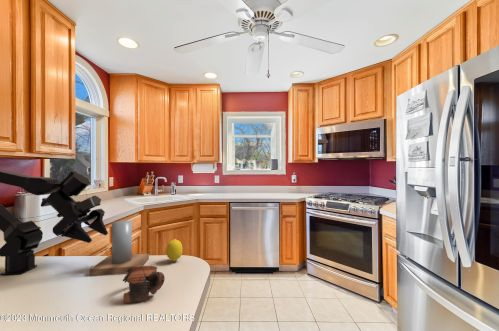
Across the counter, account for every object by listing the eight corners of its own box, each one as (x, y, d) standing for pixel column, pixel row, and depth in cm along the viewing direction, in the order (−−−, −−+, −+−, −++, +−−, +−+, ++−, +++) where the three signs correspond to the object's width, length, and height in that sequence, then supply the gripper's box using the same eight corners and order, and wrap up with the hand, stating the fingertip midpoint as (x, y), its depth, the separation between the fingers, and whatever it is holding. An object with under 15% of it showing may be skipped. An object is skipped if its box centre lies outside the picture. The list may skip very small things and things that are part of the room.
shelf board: (90, 275, 73) (90, 269, 73) (108, 261, 85) (108, 255, 85) (137, 272, 74) (137, 266, 74) (148, 259, 86) (148, 253, 86)
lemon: (177, 264, 80) (177, 241, 80) (163, 263, 81) (163, 240, 82) (185, 259, 86) (185, 237, 86) (171, 258, 87) (171, 236, 87)
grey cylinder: (112, 265, 75) (112, 224, 76) (111, 259, 80) (111, 221, 81) (132, 261, 79) (132, 222, 79) (130, 256, 84) (130, 219, 84)
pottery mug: (110, 306, 56) (115, 269, 61) (138, 305, 64) (141, 272, 68) (153, 297, 54) (155, 260, 58) (176, 297, 62) (177, 264, 66)
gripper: (63, 190, 70) (100, 226, 71) (99, 187, 89) (129, 215, 89) (35, 217, 70) (73, 253, 70) (78, 208, 88) (107, 237, 89)
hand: (99, 237), depth 79 cm, fingers open, 9 cm apart
